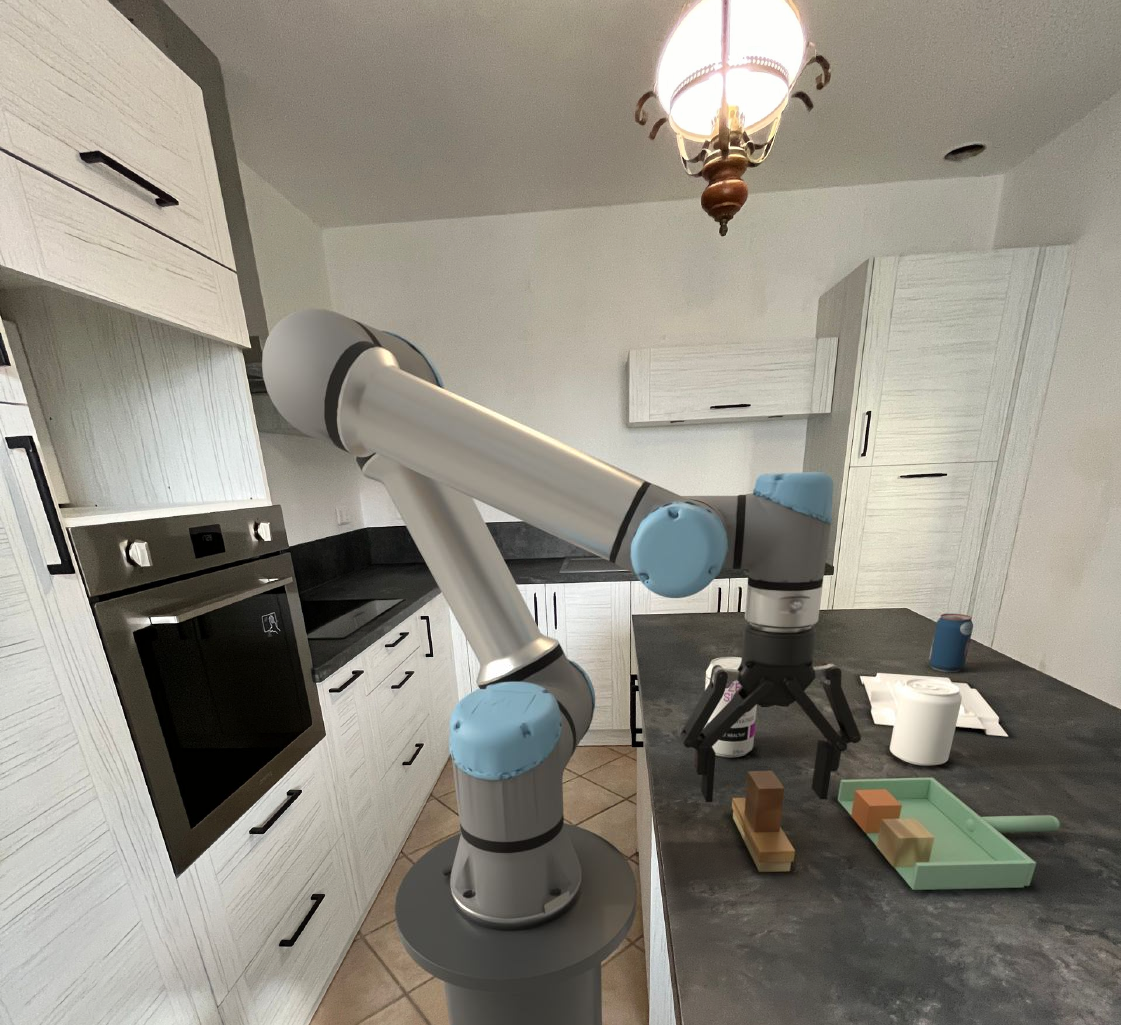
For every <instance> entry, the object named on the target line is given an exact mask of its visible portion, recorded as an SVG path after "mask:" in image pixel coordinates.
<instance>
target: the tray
mask: <svg viewBox="0 0 1121 1025" xmlns="http://www.w3.org/2000/svg"><path fill="white" fill-rule="evenodd" d="M859 678H860V681H861V682H860V683H861V684H862V685H864V688H865V691H866V693H867V697H868V700H869V703H870V706H871V709H870V713H871V716H872V719H873V722H874V724H875V725H884V726H893V727H894V722H895V716H896V711H897V706H898V700H899V695H900V690H901V688H902V687H903V686H905V683H906V681H908V680H911V679H935V680H940V681H945V682H948V683H951V684H954V685H956V686H957V687H959V689H960V692H959V693H960V695H961V697H962V701H961V705H960V710H959V714H958V719H957V723H956V727H957V728H958V727H959V728H968V729H969V728H971V729H981V730H983V731H984V733H985V734H986V735H988V736H998V737H999V736H1001V737H1009V735H1008V734H1007V732H1006V731H1005V730H1004V729H1003V727H1002V726H1001V725H1000V724H999V722H1000V717H999V716H998V714H997V713H996V712H995V711H994V709H993V708H992V707H991V706H990V705H989V704H988V702H987V701H986V699H984V697H983V696H982V695H981V694H980V692H979V691H978V690H977V689H976V688H971V687H970V685H969V684H968V683H965V682H953V681H951V679H950V678H949V677H942V676H941V677H940V676H930V675H929V676H928V675H927V676H926V675H915V674H914V675H912V674H900V673H899V674H897V673H884V672H877V673H876V676H865V675H859Z"/></svg>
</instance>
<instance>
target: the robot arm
mask: <svg viewBox="0 0 1121 1025" xmlns="http://www.w3.org/2000/svg"><path fill="white" fill-rule="evenodd" d="M261 359H262V361H261V369H262V378H263V381H264V384H265V388H266V392H267V394H268V396H269V398H270V400H271V402H272V404H273V406H274V407H275V408H276V409H277V412H278V413H279V415H281V416H282V417H283V418H284V420H285V421H286V422H288V423H289V424H290V425H291V426H292V427H293V428H295V429H297V430H298V431H300V432H301V433H302V434H304V435H306V436H309V437H311V438H313V439H316V440H318V441H321V442H324V443H326V444H328V445H330V446H332V447H335V448H337V449H340V450H341V451H344V452H345V453H348V454H350V455H352V456H353V458H354V460H355V462H356V464H357V465H358V467H359V469H360V470H361V473H362V475H363V476H364V477H365V478H367V479H370V480H373V481H375V482H378V483H381V484H382V485H383V486H384V488H385V489H386V491H387V494H388V495H389V497H390V499H391V501H392V503H393V505H394V506H395V508H396V510H397V512H398V514H399V516H400V518H401V519H402V522H403V523H404V525H405V527H406V529H407V531H408V532H409V534H410V536H411V539H412V540H413V542H414V544H415V545H416V547H417V549H418V551H419V553H420V554H421V556H422V558H423V559H424V561H425V564H426V566H427V567H428V569H429V572H430V573H431V575H432V577H433V579H434V581H435V582H436V585H437V586H438V588H439V590H440V592H441V594H442V595H443V598H444V599H445V601H446V603H447V605H448V607H449V609H450V611H451V612H452V614H453V616H454V617H455V620H456V622H457V624H458V626H459V628H460V629H461V631H462V633H463V635H464V637H465V638H466V640H467V642H468V644H469V646H470V648H471V649H472V652H473V654H474V655H475V657H476V659H477V662H478V663H479V670H478V673H477V677H476V680H475V682H476V685H477V686H478V689H475V690H473V691H471V692H469V693H468V694H467V695H464V697H462V698H461V699H460V700H459V701H458V702H457V704H456V705H455V707H454V708H453V709H452V711H451V714H450V719H449V738H448V747H449V753H450V757H451V762H452V769H453V779H454V786H455V795H456V804H457V805H456V806H457V812H458V820H459V829H460V833H461V837H460V840H459V844H458V848H457V852H456V856H455V860H454V864H452V865H450V866H448V867H445V868H443V870H442V871H443V874H444V875H445V876H447V875H449V874H451V878H450V886H451V894H452V900H453V903H454V905H455V907H456V909H457V910H458V911H459V913H460V914H461V915H462V916H463V917H465V918H466V919H467V920H469V921H471V922H472V923H474V924H477V925H479V926H482V927H485V928H489V929H494V930H503V931H516V930H525V929H530V928H534V927H538V926H541V925H544V924H547V923H549V922H551V921H553V920H555V919H557V918H558V917H560V916H561V915H563V914H564V913H565V912H567V911H568V910H569V909H570V908H571V907H572V906H573V904H574V903H575V902H576V900H577V899H578V897H579V894H580V891H581V887H582V876H581V866H580V863H579V859H578V857H577V855H576V852H575V850H574V847H573V845H572V843H571V840H570V838H569V835H568V833H567V831H566V828H565V826H564V823H565V821H564V820H565V818H564V789H563V787H564V786H563V780H564V779H563V778H564V772H565V770H566V768H567V766H568V764H569V762H570V760H571V758H572V757H573V755H574V753H575V752H576V750H577V748H578V747H579V744H580V743H581V741H582V739H584V737H585V735H586V734H587V733H588V732H589V729H590V727H591V724H592V722H593V719H594V713H595V709H596V708H595V707H596V693H595V687H594V685H593V682H592V680H591V678H590V676H589V675H588V673H587V672H586V671H585V669H584V668H583V667H581V665H580V664H578V663H577V662H576V661H574V660H573V661H572V660H570V659H569V658H567V656H566V654H565V652H564V649H563V647H562V644H560V642H559V640H558V639H556V638H553V637H550V636H548V635H544V634H543V633H542V632H541V630H540V629H539V626H538V625H537V623H536V621H535V619H534V616H533V615H532V612H531V611H530V609H529V607H528V605H527V602H526V601H525V599H524V597H523V595H522V593H521V591H520V589H519V586H518V585H517V582H516V581H515V579H514V577H513V575H512V573H511V571H510V569H509V567H508V565H507V564H506V562H505V559H504V557H503V556H502V553H501V551H500V549H499V547H498V546H497V544H496V541H495V540H494V537H493V536H492V534H491V532H490V530H489V527H488V526H487V524H486V521H485V520H484V517H483V516H482V514H481V511H480V510H479V507H478V506H477V503H476V502H475V500H476V501H478V502H481V503H483V504H486V505H487V506H489V507H492V508H493V509H496V510H498V511H499V512H503V513H504V514H507V515H508V516H511V517H514V518H515V519H518V520H520V521H522V522H524V523H526V524H528V525H531V526H532V527H535V528H537V529H539V530H542V531H544V532H546V533H548V534H550V535H552V536H555V537H556V538H558V539H560V540H563V541H565V542H568V543H569V544H571V545H574V546H576V547H578V548H580V549H582V550H585V551H587V552H589V553H591V554H594V555H595V556H597V557H600V558H602V559H604V560H606V561H609V562H610V563H612V564H614V565H616V566H618V567H620V568H621V569H624V570H626V571H629V572H630V573H632V574H635V575H636V576H637V578H638V580H639V581H640V582H641V584H642V585H643V586H645V588H646V589H648V590H649V591H650V592H652V593H654V594H656V595H658V596H660V597H663V598H667V599H684V598H688V597H691V596H694V595H696V594H698V593H701V592H702V591H703V590H704V589H706V588H707V587H708V586H709V585H710V584H711V583H712V582H713V581H714V579H715V578H716V577H717V576H718V575H719V574H720V573H721V571H722V569H723V570H725V569H726V570H727V569H729V570H730V569H731V570H741V569H747V571H748V576H747V589H746V597H745V598H746V599H745V608H744V620H746V621H747V622H748V623H746V624H745V626H744V627H743V633H742V647H741V658H742V660H741V664H740V666H739V668H738V669H737V670H736V669H724V668H722V667H721V666H720V665H715V666H714V667H713V668H712V672H711V678H710V683H709V685H708V687H707V688H706V690H705V689H704V692H703V694H702V695H701V697H700V699H699V701H698V702H697V703H696V706H695V707H694V709H693V711H692V713H691V714H690V716H689V717H688V719H687V720H686V722H685V724H684V726H683V728H682V729H681V731H680V733H679V737H680V739H681V741H682V743H683V746H684V747H685V748H687V749H690V748H693V749H694V768H695V771H696V774H697V775H698V776H701V789H700V791H701V794H702V797H703V798H704V802H705V803H713V797H714V783H715V768H716V756H717V755H716V753H715V751H714V749H713V747H712V746H713V745H714V744H715V743H716V742H717V741H718V740H719V739H720V738H721V737H722V736H723V735H724V734H725V733H726V732H727V731H728V730H729V729H730V728H731V727H732V726H733V725H734V724H735V723H736V722H737V721H738V720H739V719H740V718H741V717H742V716H743V715H744V714H745V713H746V712H749V711H750V710H751V709H752V708H753V707H754V706H755V705H756V704H757V706H759V707H760V708H770V707H774V706H777V707H780V708H781V707H782V708H785V707H790V705H792V704H794V703H796V704H797V705H798V706H799V707H800V709H801V710H802V711H803V713H804V714H805V715H806V716H807V718H809V720H810V721H811V722H812V723H813V725H814V726H815V727H816V728H817V729H818V731H819V732H820V733H821V734H822V736H823V737H824V738H825V739H823V740H822V739H821V740H819V739H818V740H817V745H816V746H817V747H816V754H815V761H814V768H813V775H812V783H811V790H812V791H813V792H814V793H815V794H816V796H817V797H818V799H819V800H827V799H828V794H829V788H830V781H831V774H832V772H837V771H838V769H839V768H840V761H841V754H842V752H845V751H846V750H847V749H848V744H850V743H852V744H857V743H859V742H860V741H862V740H861V739H862V736H861V733H860V730H859V729H858V728H859V727H858V725H857V723H856V720H855V718H854V716H853V713H852V710H851V708H850V705H849V703H848V700H847V698H846V695H845V693H844V690H843V687H842V670H841V668H839V667H838V666H836V665H835V664H833V663H832V662H830V661H825V662H823V663H822V664H821V665H818V666H814V664H813V662H814V658H815V652H816V643H817V642H816V641H817V634H818V630H817V629H816V627H815V626H814V625H815V624H817V623H818V622H819V617H820V611H821V610H820V609H821V602H822V595H823V594H822V593H823V586H824V585H823V584H824V576H825V568H826V563H827V555H828V548H829V541H830V534H831V527H832V524H833V518H832V513H833V500H834V499H833V498H834V497H833V495H834V480H833V478H832V477H831V476H830V474H828V473H826V472H823V471H805V472H779V473H762V474H760V475H759V476H757V478H756V479H755V483H754V488H753V489H752V493H745V494H738V495H680V494H677V493H675V492H673V491H671V490H668V489H667V488H664V487H662V486H659V485H657V484H654V483H652V482H649V481H648V480H645V479H643V478H641V477H639V476H637V475H635V474H633V473H630V472H628V471H626V470H623V469H621V468H619V467H618V466H615V465H613V464H610V463H608V462H606V461H603V460H601V459H599V458H597V457H595V456H593V455H590V454H589V453H586V452H583V451H582V450H580V449H577V448H575V447H573V446H572V445H571V446H570V445H568V444H567V443H564V442H562V441H559V440H557V439H555V438H553V437H551V436H548V435H547V434H544V433H542V432H539V431H538V430H535V429H533V428H531V427H529V426H526V425H524V424H522V423H520V422H518V421H516V420H513V419H511V418H509V417H506V416H505V415H502V414H500V413H498V412H495V411H493V410H491V409H489V408H487V407H485V406H482V405H480V404H478V403H476V402H474V401H471V400H469V399H467V398H464V397H463V396H460V395H458V394H456V393H453V392H451V391H449V390H447V389H445V384H444V382H443V378H442V377H441V374H440V373H439V370H438V368H437V367H436V365H435V364H434V362H433V361H432V360H431V358H430V357H429V356H428V355H427V354H426V353H425V352H424V351H422V350H421V349H420V348H419V347H417V346H415V345H414V344H413V343H412V342H411V341H410V340H408V339H406V338H404V337H402V336H400V335H398V334H396V333H394V332H390V331H385V330H380V329H377V328H375V327H374V326H373V327H372V326H370V325H368V324H366V323H363V322H361V321H358V320H355V319H353V318H350V317H348V316H346V315H344V314H341V313H339V312H336V311H333V310H328V309H324V308H303V309H300V310H297V311H294V312H291V313H289V314H288V315H286V316H284V317H283V318H282V319H280V320H279V321H278V322H277V323H276V324H275V325H274V327H273V328H272V329H271V331H270V332H269V334H268V336H267V338H266V340H265V343H264V347H263V350H262V357H261ZM815 679H816V680H817V682H818V683H819V684H820V685H822V687H823V690H824V693H825V695H826V698H827V701H828V702H829V705H830V708H831V710H832V714H833V715H834V717H835V721H836V722H837V724H838V727H839V729H838V730H836V729H835V728H834V727H833V726H832V725H831V723H830V722H829V721H828V719H826V718H827V717H825V715H824V714H822V712H821V711H820V710H819V708H818V707H817V706H816V705H815V703H814V701H813V700H812V699H811V698H810V697H809V695H808V694H807V693H806V692H805V691H806V690H807V689H808V687H810V685H812V683H813V682H814V680H815ZM736 680H738V682H739V683H740V685H741V688H740V689H739V690H738V691H737V692H736V693H735V694H734V695H733V698H732V700H731V701H730V702H729V703H728V704H727V705H726V706H725V707H724V708H723V709H722V710H721V711H720V712H719V713H718V714H717V715H716V716H715V717H714V718H713V719H712V720H711V721H710V722H709V723H708V725H707V726H706V727H705V725H706V724H707V722H708V720H709V719H710V717H711V715H712V714H713V712H714V710H715V709H716V707H717V705H718V703H719V702H720V700H721V698H722V697H723V695H724V692H725V689H726V688H729V687H730V686H731V684H732V683H733V682H734V681H736ZM704 727H705V728H704Z"/></svg>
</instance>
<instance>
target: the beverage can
mask: <svg viewBox="0 0 1121 1025" xmlns="http://www.w3.org/2000/svg"><path fill="white" fill-rule="evenodd" d="M959 692H960V689H959V687H957V686H956V685H954V684H951V683H948V682H945V681H940V680H935V679H911V680H908V681H906V683H905V686H903V687H902V688H901V690H900V695H899V700H898V706H897V711H896V716H895V722H894V726H893V728H892V733H891V739H890V744H889V751H890V752H891V754H892V755H893V756H894V757H896V758H898V759H899V760H902V761H903V762H906V763H909V764H911V765H917V766H923V767H924V766H925V767H926V766H928V767H929V766H938V765H943V764H945V763H946V762H948V761H949V757H950V753H951V749H952V744H953V740H954V735H955V731H956V727H957V726H956V723H957V719H958V714H959V710H960V705H961V701H962V697H961V695H960V693H959Z"/></svg>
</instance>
